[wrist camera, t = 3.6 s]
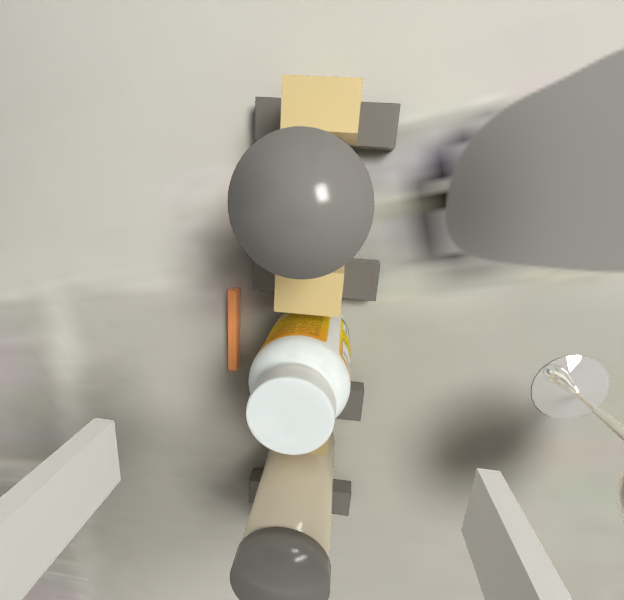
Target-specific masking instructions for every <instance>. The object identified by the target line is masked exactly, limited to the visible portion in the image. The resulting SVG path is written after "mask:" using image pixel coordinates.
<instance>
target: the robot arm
mask: <svg viewBox="0 0 624 600" xmlns="http://www.w3.org/2000/svg"><path fill="white" fill-rule="evenodd" d="M120 481H121V476H120V467H119V458H118V449H117V440H116V431H115V423H114V420H108V419H100V418H94V419H93V420H92V421H91V422H89V423H88V424H87V425H86V426H85V427H84V428H82V429H81V430H80V431H79V432H78V433H76V434H75V435H74V436H73V437H72V438H70V439H69V440H68V441H67V442H66V443H65V444H63V445H62V446H61V447H60V448H59V449H57V450H56V451H55V452H54V453H53V454H51V455H50V456H49V457H48V458H47V459H46V460H44V461H43V462H42V463H41V464H40V465H38V466H37V467H36V468H35V469H34V470H32V471H31V472H30V473H29V474H28V475H27V476H25V477H24V478H23V479H22V480H21V481H19V482H18V483H17V484H16V485H15V486H13V487H12V488H11V489H10V490H9V491H8V492H6V493H5V494H4V495H3V496H2V497H0V600H22V599H23V598H24V597H25V595H26V594H27V593H28V592H29V591H30V589H31V588H32V587H33V586H34V585H35V583H36V582H37V581H38V580H39V578H40V577H41V576H42V575H43V574H44V572H45V571H46V570H47V569H48V568H49V566H50V565H51V564H52V563H53V562H54V560H55V559H56V558H57V557H58V555H59V554H60V553H61V552H62V551H63V549H64V548H65V547H66V546H67V545H68V543H69V542H70V541H71V540H72V539H73V537H74V536H75V535H76V534H77V533H78V531H79V530H80V529H81V528H82V526H83V525H84V524H85V523H86V522H87V520H88V519H89V518H90V517H91V516H92V514H93V513H94V512H95V511H96V510H97V508H98V507H99V506H100V505H101V504H102V502H103V501H104V500H105V499H106V497H107V496H108V495H109V494H110V493H111V491H112V490H113V489H114V488H115V487H116V485H117V484H118V483H119V482H120ZM462 533H463V536H464V539H465V542H466V545H467V548H468V551H469V554H470V557H471V559H472V562H473V565H474V568H475V571H476V574H477V577H478V580H479V583H480V586H481V589H482V592H483V595H484V597H485V600H572V598H571V596H570V595H569V593H568V591H567V589H566V588H565V586H564V584H563V582H562V580H561V579H560V577H559V575H558V573H557V571H556V570H555V568H554V566H553V564H552V563H551V561H550V559H549V557H548V555H547V554H546V552H545V550H544V548H543V547H542V545H541V543H540V541H539V539H538V538H537V536H536V534H535V532H534V531H533V529H532V527H531V525H530V523H529V522H528V520H527V518H526V516H525V514H524V513H523V511H522V509H521V507H520V506H519V504H518V502H517V500H516V498H515V497H514V495H513V493H512V491H511V490H510V488H509V486H508V484H507V482H506V481H505V479H504V477H503V475H502V473H501V472H500V471H496V470H488V469H481V468H477V469H476V473H475V477H474V481H473V486H472V490H471V494H470V498H469V502H468V506H467V510H466V514H465V518H464V522H463V526H462Z"/></svg>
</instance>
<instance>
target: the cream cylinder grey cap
mask: <svg viewBox="0 0 624 600" xmlns="http://www.w3.org/2000/svg"><path fill="white" fill-rule="evenodd" d="M228 213H229V218H230V223H231V226H232V229H233V232H234V234H235V236H236V238H237V240H238V242H239V244H240V245H241V247H242V248H243V250H244V251H245V252H246V253H247V255H248V256H249V257H250V258H251V259H252V260H253V261H254V262H256V263H257V264H258V265H260V266H261V267H262V268H264V269H266V270H267V271H269V272H271V273H274V274H276V275H278V276H282V277H285V278H291V279H314V278H318V277H322V276H325V275H328V274H330V273H332V272H334V271H336V270H338V269H340V268H341V267H342V266H344V265H345V264H346V263H348V262H349V261H350V260H351V259H352V258H353V257H354V256H355V255H356V253H357V252H358V251H359V250H360V248H361V247H362V245H363V243H364V242H365V240H366V238H367V236H368V233H369V231H370V228H371V224H372V220H373V215H374V192H373V187H372V183H371V180H370V177H369V174H368V171H367V169H366V167H365V166H364V164H363V162H362V160H361V159H360V158H359V156H358V155H357V153H356V152H355V151H354V150H353V149H352V148H351V147H350V146H349V145H348V144H347V143H345V142H344V141H343V140H342V139H340V138H338V137H337V136H335V135H334V134H331V133H329V132H327V131H325V130H321V129H318V128H314V127H306V126H293V127H287V128H282V129H279V130H276V131H273V132H271V133H269V134H267V135H265V136H264V137H262V138H261V139H259V140H258V141H256V142H255V143H254V144H253V145H252V146H251V147H250V148H249V149H248V150H247V151H246V152H245V153H244V155H243V156H242V158H241V159H240V161H239V162H238V164H237V166H236V168H235V170H234V172H233V175H232V178H231V181H230V186H229V191H228Z"/></svg>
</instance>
